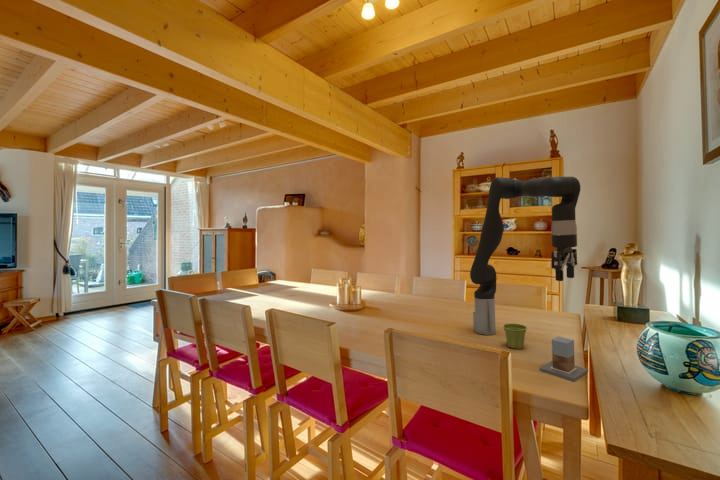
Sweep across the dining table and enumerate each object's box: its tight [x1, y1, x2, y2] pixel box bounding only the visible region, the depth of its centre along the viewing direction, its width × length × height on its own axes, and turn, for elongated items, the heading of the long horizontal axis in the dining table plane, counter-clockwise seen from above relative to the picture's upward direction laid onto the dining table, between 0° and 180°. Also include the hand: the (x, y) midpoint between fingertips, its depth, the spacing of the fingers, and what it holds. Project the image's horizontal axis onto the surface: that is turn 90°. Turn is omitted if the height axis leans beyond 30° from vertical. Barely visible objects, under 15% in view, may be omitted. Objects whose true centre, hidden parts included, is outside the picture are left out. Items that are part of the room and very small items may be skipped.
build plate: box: [539, 360, 589, 382], centre depth 112 cm, size 11×11×1 cm
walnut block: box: [551, 353, 576, 372], centre depth 112 cm, size 5×5×5 cm
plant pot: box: [502, 323, 528, 350], centre depth 137 cm, size 9×9×9 cm
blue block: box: [551, 336, 575, 358], centre depth 112 cm, size 5×5×5 cm
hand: (565, 279), depth 113 cm, fingers open, 8 cm apart
